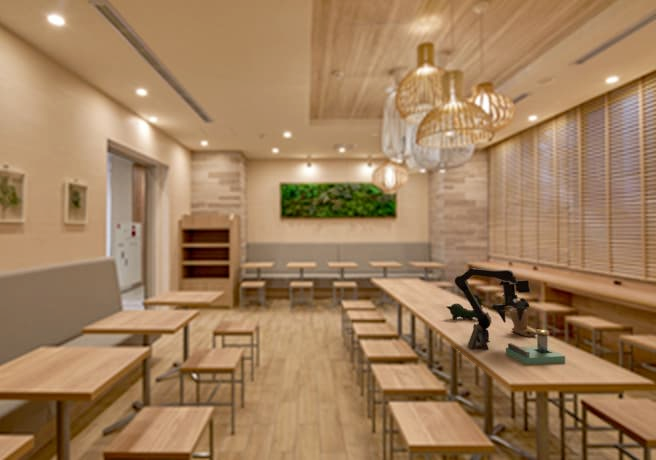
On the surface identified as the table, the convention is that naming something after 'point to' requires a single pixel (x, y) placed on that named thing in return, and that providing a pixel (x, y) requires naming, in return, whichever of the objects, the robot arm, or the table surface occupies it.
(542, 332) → the metal peg
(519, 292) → the robot arm
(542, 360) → the jig
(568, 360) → the table surface
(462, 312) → the toy figurine
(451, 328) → the table surface
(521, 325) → the tan boot
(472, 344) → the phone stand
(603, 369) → the table surface
